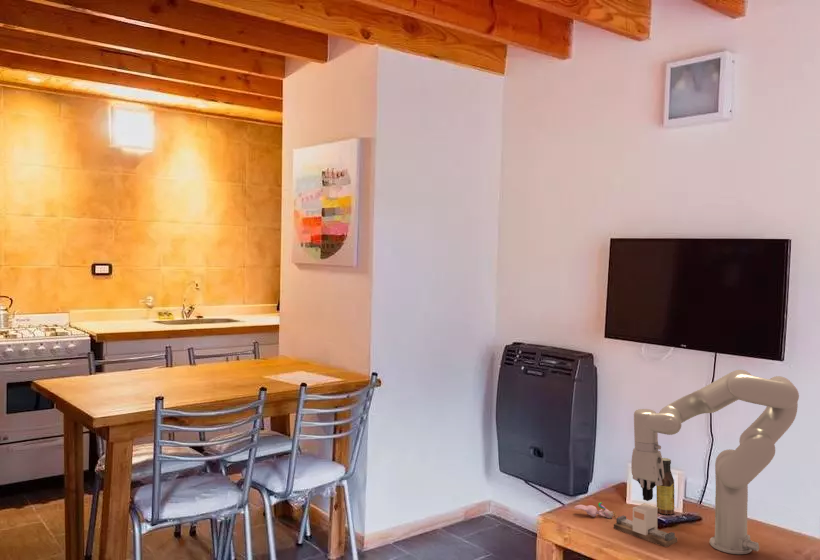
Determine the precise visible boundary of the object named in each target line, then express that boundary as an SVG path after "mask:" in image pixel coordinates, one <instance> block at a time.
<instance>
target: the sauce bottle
mask: <svg viewBox="0 0 820 560" xmlns="http://www.w3.org/2000/svg"><path fill="white" fill-rule="evenodd" d="M662 460H663V467H664V479H662V483H663V484H662V485H660V486H655V488H656V507H658V510H657V513H659V514H660V515H661V514H662V515H666V514H667V515H668V514H670V515H673V514H674V513H675V479H674V477H673V474H672V471H671V464H672V460H671V459H670V458H668V457H667V458H666V457H662Z"/></svg>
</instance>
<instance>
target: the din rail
mask: <svg viewBox="0 0 820 560" xmlns="http://www.w3.org/2000/svg"><path fill="white" fill-rule="evenodd" d="M615 520H616V522H615V523H618V524H622V525H625V526H628V527H631V528H633V520H631V519H628V518H627V516H626V515H621V516H618V517H616V519H615ZM648 534H650V535H653V536H656V537H659V538H662V539H665V540H666V541H670V540H672V539H674V538H675V537H676V533H675V532H673V531H670V532H666V531H663V530H661V529H658V528H657V529H655V528H651V529H649V530H648Z"/></svg>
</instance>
